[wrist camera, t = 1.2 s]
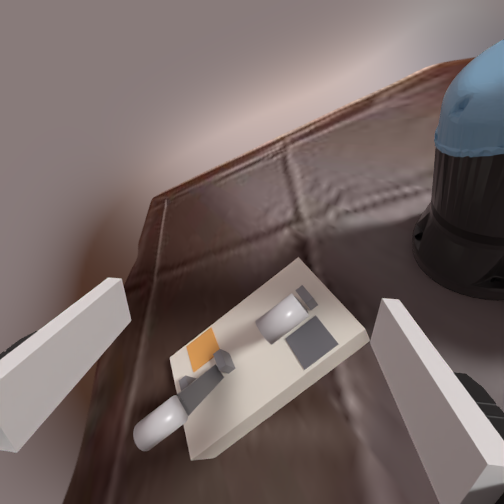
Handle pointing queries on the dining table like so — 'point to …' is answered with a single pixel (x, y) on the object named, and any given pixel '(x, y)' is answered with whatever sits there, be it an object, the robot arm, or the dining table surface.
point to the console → (263, 359)
